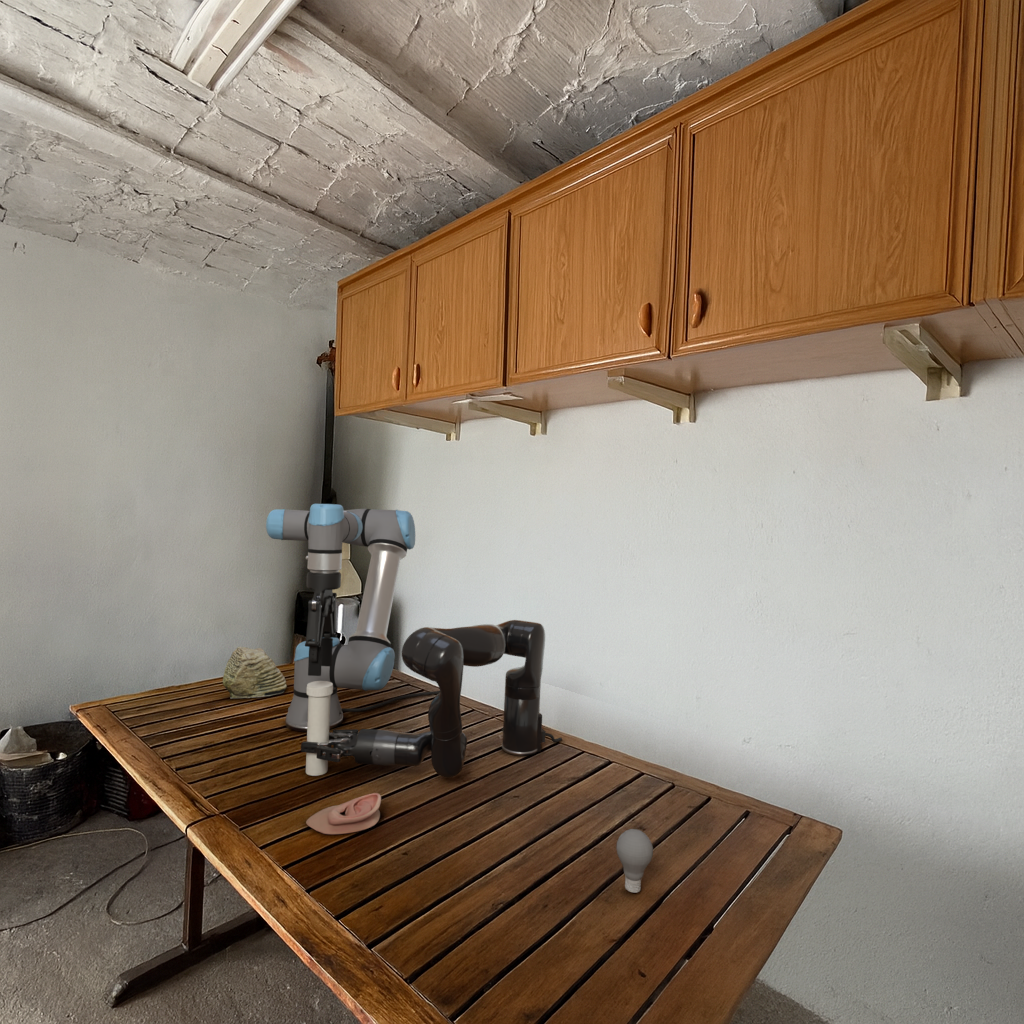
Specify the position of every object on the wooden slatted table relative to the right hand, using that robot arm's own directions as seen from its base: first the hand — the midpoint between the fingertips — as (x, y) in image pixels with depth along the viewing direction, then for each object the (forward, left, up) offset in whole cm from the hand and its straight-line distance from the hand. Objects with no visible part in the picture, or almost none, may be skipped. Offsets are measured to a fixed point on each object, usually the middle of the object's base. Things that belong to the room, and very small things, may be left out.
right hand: (306, 742), depth 146 cm
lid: (-2, +1, +13) cm, 13 cm away
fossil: (+12, -60, -7) cm, 62 cm away
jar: (-2, +1, -7) cm, 7 cm away
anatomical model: (-6, +26, -7) cm, 27 cm away
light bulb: (-49, +62, -7) cm, 79 cm away
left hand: (-2, +1, +17) cm, 17 cm away
